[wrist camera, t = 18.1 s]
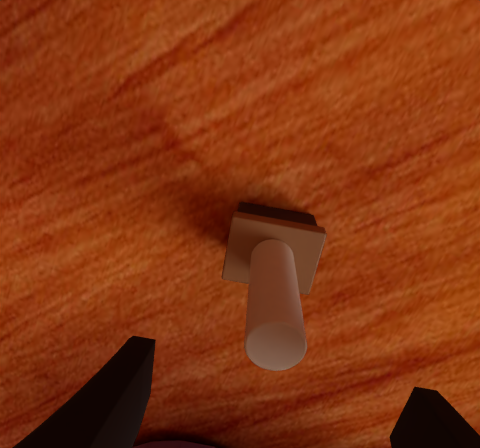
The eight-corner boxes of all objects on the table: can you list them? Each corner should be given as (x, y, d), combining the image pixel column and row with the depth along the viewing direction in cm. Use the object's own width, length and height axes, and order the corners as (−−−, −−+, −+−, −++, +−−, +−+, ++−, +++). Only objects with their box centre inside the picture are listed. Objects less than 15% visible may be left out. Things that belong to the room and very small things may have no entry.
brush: (319, 211, 19) (359, 317, 11) (303, 267, 20) (329, 397, 12) (236, 196, 19) (214, 291, 11) (226, 253, 20) (200, 374, 12)
